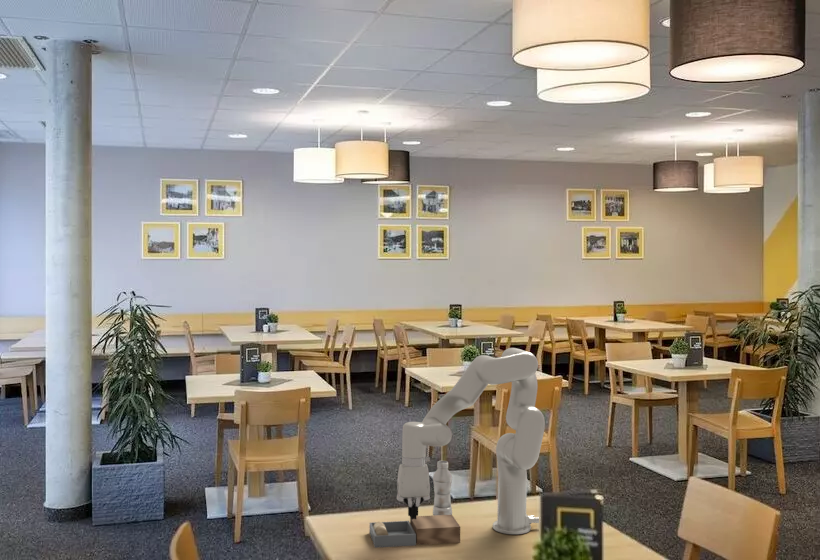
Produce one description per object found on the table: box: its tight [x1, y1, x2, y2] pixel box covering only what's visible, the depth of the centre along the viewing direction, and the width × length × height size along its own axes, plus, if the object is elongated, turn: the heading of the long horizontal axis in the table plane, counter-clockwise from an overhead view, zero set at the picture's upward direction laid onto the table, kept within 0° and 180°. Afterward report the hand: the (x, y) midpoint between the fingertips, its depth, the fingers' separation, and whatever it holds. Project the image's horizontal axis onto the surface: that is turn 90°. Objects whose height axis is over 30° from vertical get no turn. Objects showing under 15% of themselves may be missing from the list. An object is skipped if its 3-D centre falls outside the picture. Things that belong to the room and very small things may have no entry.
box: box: [369, 520, 417, 549], centre depth 261 cm, size 13×13×4 cm
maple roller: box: [373, 521, 388, 536], centre depth 261 cm, size 4×8×4 cm, turn 10°
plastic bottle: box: [432, 460, 453, 516], centre depth 280 cm, size 6×7×20 cm
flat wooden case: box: [409, 514, 461, 546], centre depth 264 cm, size 14×12×5 cm
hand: (413, 517), depth 262 cm, fingers closed
